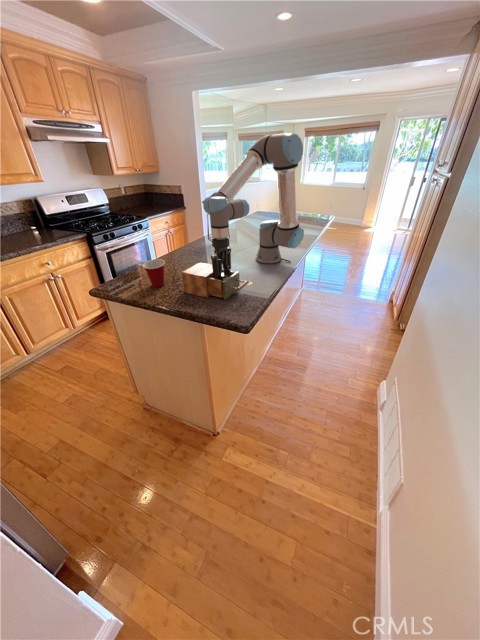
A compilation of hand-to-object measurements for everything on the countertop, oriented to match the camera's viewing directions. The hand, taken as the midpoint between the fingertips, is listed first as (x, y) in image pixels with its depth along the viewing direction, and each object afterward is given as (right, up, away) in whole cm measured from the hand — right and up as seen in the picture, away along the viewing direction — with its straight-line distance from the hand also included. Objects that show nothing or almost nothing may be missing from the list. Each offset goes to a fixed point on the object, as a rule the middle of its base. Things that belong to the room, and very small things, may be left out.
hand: (223, 287), depth 126 cm
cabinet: (-10, 0, +6) cm, 12 cm away
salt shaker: (0, 0, 0) cm, 0 cm away
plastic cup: (-34, +2, +12) cm, 36 cm away
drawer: (+2, -3, 0) cm, 3 cm away
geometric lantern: (-8, +40, +71) cm, 82 cm away
